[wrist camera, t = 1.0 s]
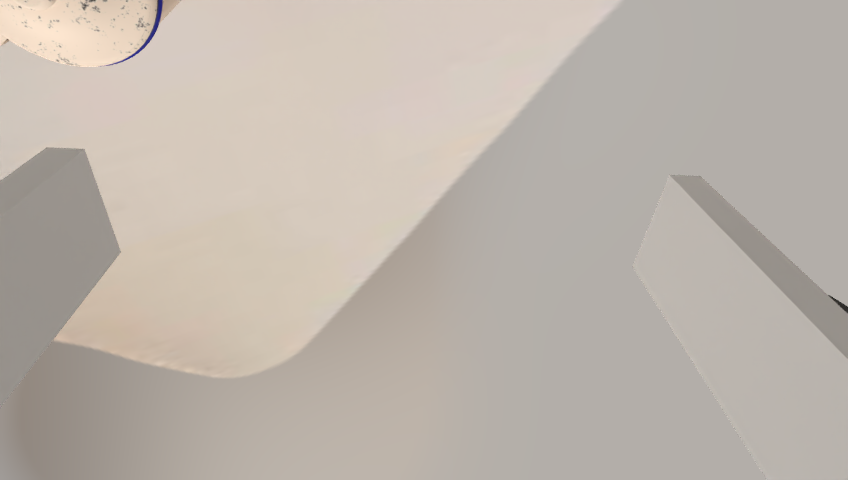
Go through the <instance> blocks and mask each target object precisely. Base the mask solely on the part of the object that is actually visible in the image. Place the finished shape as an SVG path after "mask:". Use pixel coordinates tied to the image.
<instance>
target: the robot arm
mask: <svg viewBox="0 0 848 480" xmlns="http://www.w3.org/2000/svg"><path fill="white" fill-rule="evenodd" d="M120 252H121V251H120V248H119V245H118V243H117V240H116V237H115V234H114V231H113V229H112V226H111V223H110V220H109V217H108V214H107V212H106V209H105V206H104V203H103V200H102V197H101V195H100V192H99V189H98V186H97V183H96V181H95V178H94V175H93V172H92V169H91V166H90V164H89V161H88V158H87V155H86V152H85V149H70V148H45V149H44V150H43V151H41V152H40V153H38V154H37V155H36V156H34V157H33V158H32V159H30V160H29V161H27V162H26V163H25V164H23V165H22V166H20V167H19V168H18V169H16V170H15V171H14V172H12V173H11V174H9V175H8V176H7V177H5V178H4V179H2V180H1V181H0V408H1V407H2V405H3V403H5V401H6V400H7V399H8V397H9V396H10V395H11V394H12V392H13V391H14V390H15V388H16V387H17V386H18V385H19V383H20V382H21V381H22V379H23V378H24V377H25V375H26V374H27V373H28V372H29V370H30V369H31V368H32V366H33V365H34V364H35V362H36V361H37V360H38V358H39V357H40V356H41V354H42V353H43V352H44V351H45V350H46V348H47V347H48V346H49V344H50V343H51V342H52V340H53V339H54V338H55V337H56V335H57V334H58V333H59V331H60V330H61V329H62V328H63V326H64V325H65V324H66V322H67V321H68V320H69V318H70V317H71V316H72V315H73V313H74V312H75V311H76V309H77V308H78V307H79V306H80V304H81V303H82V302H83V300H84V299H85V298H86V296H87V295H88V294H89V293H90V291H91V290H92V289H93V287H94V286H95V285H96V284H97V282H98V281H99V280H100V278H101V277H102V276H103V274H104V273H105V272H106V271H107V269H108V268H109V267H110V265H111V264H112V263H113V262H114V260H115V259H116V258H117V256H118V255H119V254H120ZM633 268H634V270H635V272H636V273H637V275H638V276H639V278H640V280H641V281H642V283H643V284H644V286H645V287H646V289H647V291H648V292H649V294H650V295H651V297H652V299H653V300H654V302H655V303H656V305H657V306H658V308H659V309H660V311H661V313H662V314H663V316H664V318H665V319H666V321H667V322H668V324H669V325H670V327H671V328H672V330H673V332H674V333H675V335H676V336H677V338H678V340H679V341H680V343H681V345H682V346H683V348H684V349H685V351H686V352H687V354H688V356H689V357H690V359H691V360H692V362H693V363H694V365H695V367H696V368H697V370H698V371H699V373H700V375H701V376H702V378H703V379H704V381H705V383H706V384H707V385H708V387H709V389H710V390H711V392H712V394H713V395H714V396H715V398H716V400H717V402H718V403H719V405H720V406H721V408H722V410H723V411H724V413H725V414H726V416H727V417H728V419H729V421H730V422H731V424H732V425H733V427H734V429H735V430H736V431H737V433H738V435H739V436H740V438H741V439H742V441H743V443H744V444H745V446H746V447H747V449H748V451H749V452H750V454H751V455H752V457H753V459H754V460H755V462H756V463H757V465H758V467H759V468H760V470H761V471H762V473H763V474H764V476H765V478H766V479H767V480H848V307H847V306H845V305H844V304H842V303H841V302H839V301H838V300H836V299H834V298H833V297H831V296H829V295H827V294H826V293H825V292H824V291H823V290H822V289H821V288H820V287H819V286H817V285H816V284H815V283H814V282H813V281H812V280H811V279H810V278H809V277H808V276H807V275H805V273H804V272H802V271H801V270H800V269H799V268H798V267H797V266H796V265H795V264H794V263H793V262H792V261H790V260H789V259H788V258H787V257H786V256H785V255H784V254H783V253H782V252H781V251H780V250H779V249H778V248H777V247H776V246H774V245H773V244H772V243H771V242H770V241H769V240H768V239H767V238H766V237H765V236H764V235H763V234H762V233H761V232H760V231H758V230H757V229H756V228H755V227H754V226H753V225H752V224H751V223H750V222H749V221H748V220H747V219H746V218H745V217H743V216H742V215H741V214H740V213H739V212H738V211H737V210H736V209H735V208H733V206H732V205H731V204H729V203H728V202H727V201H726V200H725V199H724V198H723V197H722V196H721V195H720V194H719V193H718V192H717V191H716V190H714V189H713V188H712V187H711V186H710V185H709V184H708V183H707V182H706V181H705V180H704V179H703V178H702V177H700V176H683V175H669V177H668V179H667V182H666V184H665V187H664V189H663V192H662V194H661V197H660V199H659V202H658V204H657V207H656V209H655V212H654V214H653V217H652V219H651V222H650V224H649V227H648V229H647V232H646V234H645V237H644V239H643V242H642V245H641V247H640V250H639V252H638V254H637V257H636V259H635V262H634V264H633Z"/></svg>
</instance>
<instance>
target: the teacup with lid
mask: <svg viewBox="0 0 848 480" xmlns="http://www.w3.org/2000/svg"><path fill="white" fill-rule="evenodd" d="M180 1H181V0H0V46H2V45H3V44H5V43H7V42H8V41H12V42H13V43H15V44H16V45H18V46H20V47H22V48H24V49H25V50H27V51H29V52H31V53H34V54H36V55H38V56H40V57H43V58H46V59H48V60H51V61H55V62H58V63H62V64H66V65H72V66H79V67H100V66H108V65H113V64H117V63H120V62H123V61H125V60H127V59H129V58H131V57H133V56H135V55H136V54H138V53H139V52H140V51H141V50H142V49H144V48H145V46H146V45H147V44H148V43H149V42H150V40H151V39H152V37H153V36H154V34H155V32H156V30H157V28H158V25H159V23H160V22H161V21H162V20H163V19H164V18H165V17H166V16H167V15H168V14H169V13H170V12H171V11H172V10H173V9H174V7H175V6H176V5H177V4H178V3H179V2H180Z"/></svg>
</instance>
